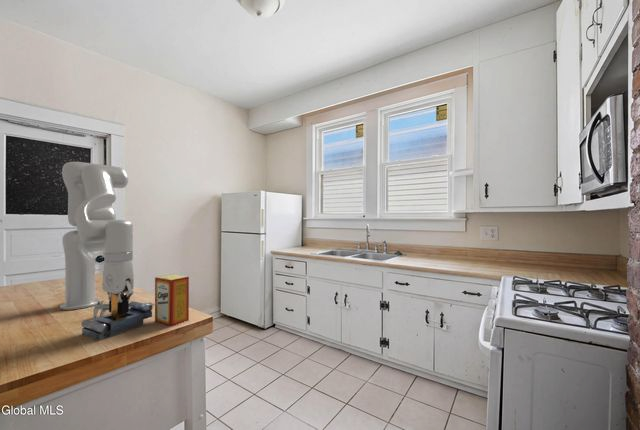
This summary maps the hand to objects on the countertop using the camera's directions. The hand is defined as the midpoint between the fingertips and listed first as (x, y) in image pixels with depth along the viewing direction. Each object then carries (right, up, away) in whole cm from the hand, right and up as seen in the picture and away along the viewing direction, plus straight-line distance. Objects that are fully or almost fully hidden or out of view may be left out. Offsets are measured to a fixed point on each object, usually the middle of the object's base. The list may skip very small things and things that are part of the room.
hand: (118, 311), depth 93 cm
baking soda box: (+14, -6, +6) cm, 17 cm away
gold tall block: (0, -4, 0) cm, 4 cm away
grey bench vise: (0, -5, 0) cm, 5 cm away
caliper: (-9, -6, +17) cm, 20 cm away
